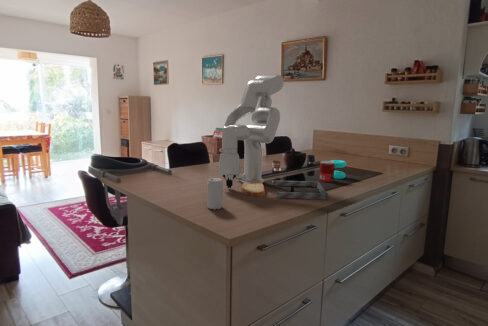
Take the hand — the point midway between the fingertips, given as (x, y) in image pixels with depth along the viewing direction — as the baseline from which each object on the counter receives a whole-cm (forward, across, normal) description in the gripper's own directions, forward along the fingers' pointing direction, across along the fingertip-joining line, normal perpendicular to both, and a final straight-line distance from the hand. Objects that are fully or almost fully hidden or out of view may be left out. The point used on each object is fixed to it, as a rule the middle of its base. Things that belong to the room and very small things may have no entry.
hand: (229, 187), depth 164 cm
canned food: (+2, +53, +26) cm, 59 cm away
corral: (+1, +34, 0) cm, 34 cm away
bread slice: (+2, +13, 0) cm, 13 cm away
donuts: (+2, +61, +36) cm, 71 cm away
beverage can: (+1, -3, -30) cm, 30 cm away
